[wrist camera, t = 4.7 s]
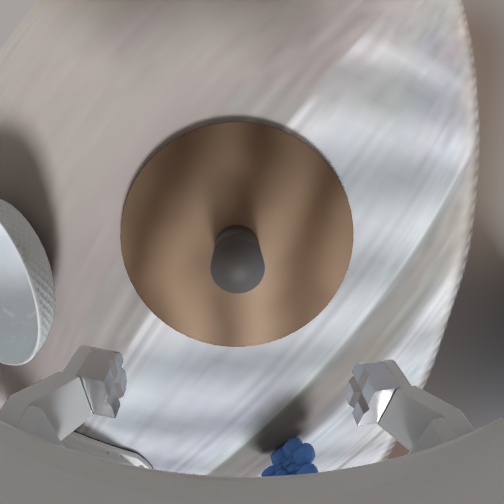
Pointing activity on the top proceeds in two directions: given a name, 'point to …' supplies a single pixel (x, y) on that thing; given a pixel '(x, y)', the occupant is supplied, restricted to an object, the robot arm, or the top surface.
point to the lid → (236, 234)
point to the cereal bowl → (23, 289)
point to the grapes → (292, 459)
